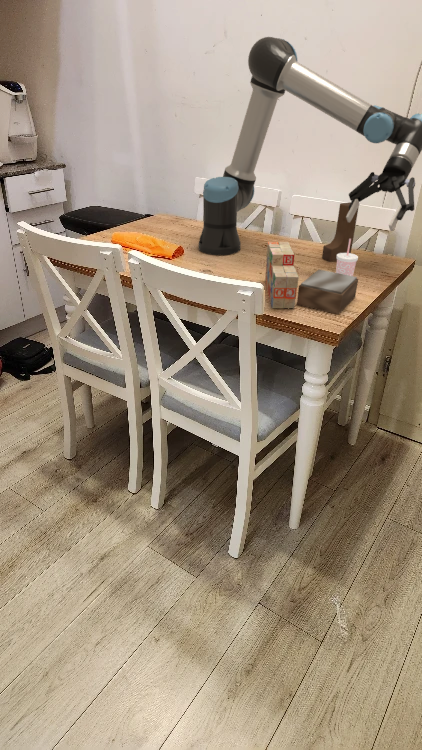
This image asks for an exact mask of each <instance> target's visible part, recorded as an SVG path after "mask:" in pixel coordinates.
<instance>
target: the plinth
mask: <svg viewBox="0 0 422 750" xmlns="http://www.w3.org/2000/svg"><path fill="white" fill-rule="evenodd" d="M358 282H359V278H358V276H354V275H353V276H349V275H344V274H339V273H336V272H333V271H329V270H325V269H318V270H316V271H315V272H313V274H311V275H310V276H309V277H307V278H306V279H305V280H304V281H302V282H301V283H300V285H299V284H298V289H297V290H298V292H297V297H296V298H297V299H296V300H297V301H296V305H297V304H298V306H303V307H307V308H310V309H314V308H315V309H316V310H319V311H324V312H327V313H332V314H336V315H340V314H341V313H342V312H343V311H344V310H345V309H346V308H347V307H348V305H350V303H352V301H353V300H354V299H355V298H356V296H357V295H356V293H357V289H358Z"/></svg>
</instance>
